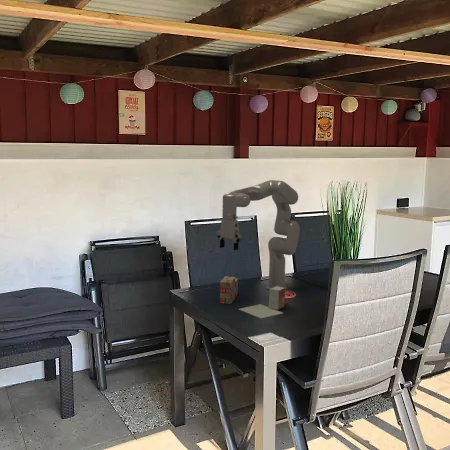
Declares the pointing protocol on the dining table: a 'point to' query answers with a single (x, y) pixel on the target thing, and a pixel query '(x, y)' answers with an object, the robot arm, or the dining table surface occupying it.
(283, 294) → the small box
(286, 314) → the dining table surface
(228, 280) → the stack of blocks
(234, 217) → the robot arm
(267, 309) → the mat
